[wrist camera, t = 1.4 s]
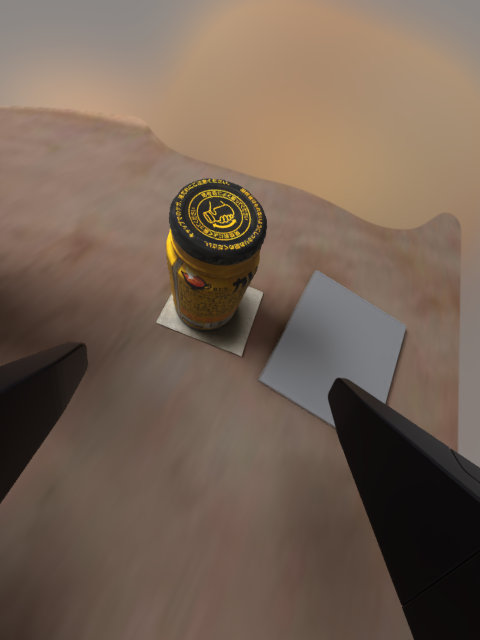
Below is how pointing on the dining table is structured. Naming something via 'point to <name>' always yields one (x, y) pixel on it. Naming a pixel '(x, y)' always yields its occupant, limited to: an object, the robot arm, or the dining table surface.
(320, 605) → the dining table surface
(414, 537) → the robot arm
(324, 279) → the board
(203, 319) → the condiment
